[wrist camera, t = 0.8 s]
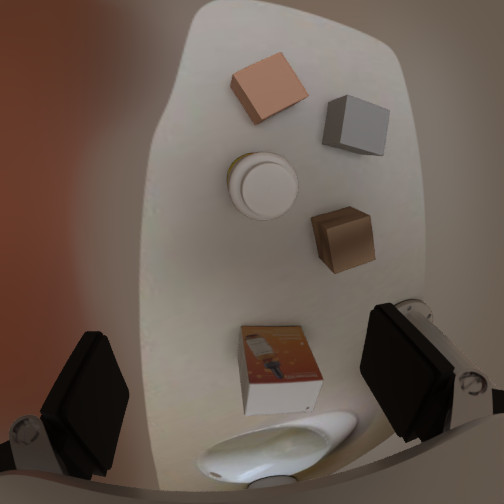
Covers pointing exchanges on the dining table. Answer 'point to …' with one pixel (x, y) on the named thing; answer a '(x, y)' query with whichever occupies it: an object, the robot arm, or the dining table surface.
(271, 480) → the cylinder vase
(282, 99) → the terracotta block
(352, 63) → the dining table surface
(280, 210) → the supplement bottle
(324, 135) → the slate block
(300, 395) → the small box
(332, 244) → the walnut block
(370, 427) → the dining table surface
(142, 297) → the dining table surface
